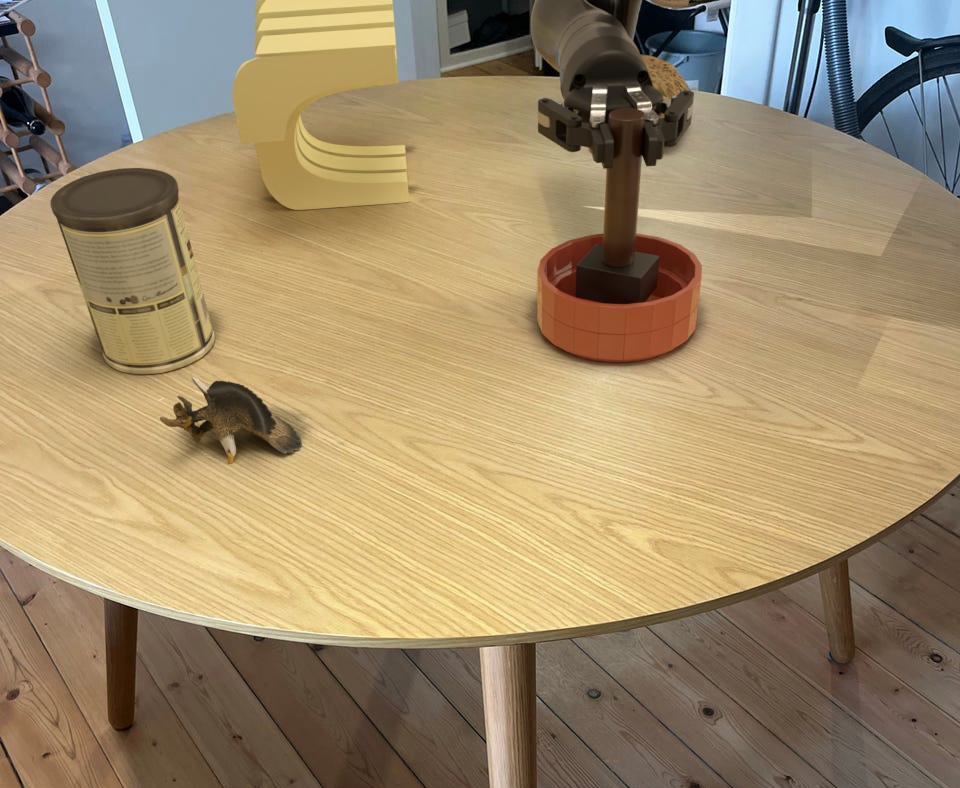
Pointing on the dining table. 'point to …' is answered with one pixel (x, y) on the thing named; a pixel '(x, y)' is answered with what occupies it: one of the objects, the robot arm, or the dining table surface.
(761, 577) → the dining table surface
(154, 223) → the coffee can
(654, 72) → the sponge
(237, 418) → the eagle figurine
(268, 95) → the slatted curved stool
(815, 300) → the dining table surface
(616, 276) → the hammer
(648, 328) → the bowl
